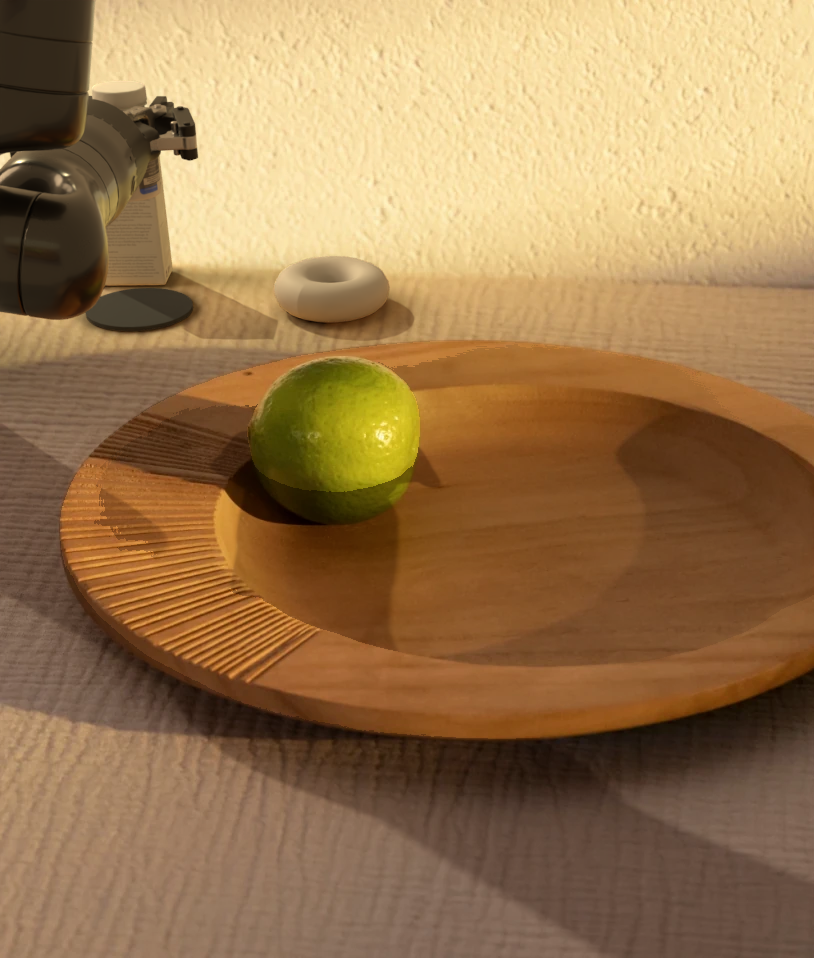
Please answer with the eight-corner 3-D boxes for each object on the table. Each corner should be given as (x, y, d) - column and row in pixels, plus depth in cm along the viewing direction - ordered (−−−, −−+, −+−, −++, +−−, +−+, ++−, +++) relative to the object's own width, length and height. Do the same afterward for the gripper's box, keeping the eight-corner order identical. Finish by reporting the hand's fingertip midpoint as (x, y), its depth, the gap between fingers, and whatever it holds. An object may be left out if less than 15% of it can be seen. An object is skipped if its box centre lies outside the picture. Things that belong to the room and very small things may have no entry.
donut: (402, 292, 119) (295, 281, 120) (402, 256, 117) (294, 244, 119) (371, 335, 110) (257, 322, 112) (371, 296, 109) (255, 283, 110)
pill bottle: (152, 182, 107) (141, 76, 103) (169, 198, 103) (158, 89, 99) (93, 189, 105) (79, 81, 101) (108, 206, 101) (94, 94, 97)
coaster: (63, 319, 112) (62, 314, 112) (132, 285, 119) (131, 281, 119) (148, 339, 109) (148, 334, 108) (214, 303, 116) (213, 298, 115)
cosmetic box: (173, 270, 123) (160, 141, 117) (166, 286, 119) (151, 154, 113) (107, 269, 122) (90, 141, 116) (97, 286, 119) (80, 154, 113)
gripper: (181, 113, 87) (216, 60, 102) (-39, 112, 87) (29, 59, 102) (191, 223, 91) (224, 156, 106) (-20, 223, 90) (43, 156, 105)
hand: (128, 109), depth 104 cm, fingers closed on pill bottle, 4 cm apart
